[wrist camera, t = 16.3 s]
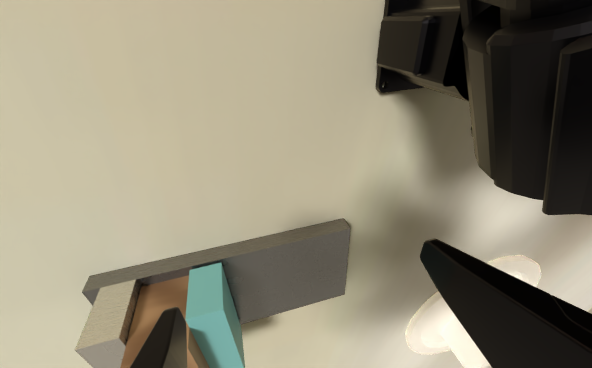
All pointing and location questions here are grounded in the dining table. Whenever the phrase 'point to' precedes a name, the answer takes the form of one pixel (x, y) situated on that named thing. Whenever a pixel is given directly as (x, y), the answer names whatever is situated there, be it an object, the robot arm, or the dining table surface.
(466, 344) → the dish
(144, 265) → the vise base
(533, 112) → the robot arm
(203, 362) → the brown rectangular block
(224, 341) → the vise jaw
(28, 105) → the dining table surface
